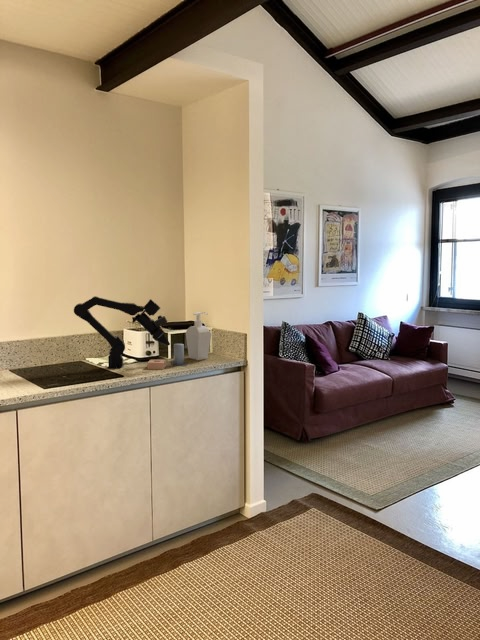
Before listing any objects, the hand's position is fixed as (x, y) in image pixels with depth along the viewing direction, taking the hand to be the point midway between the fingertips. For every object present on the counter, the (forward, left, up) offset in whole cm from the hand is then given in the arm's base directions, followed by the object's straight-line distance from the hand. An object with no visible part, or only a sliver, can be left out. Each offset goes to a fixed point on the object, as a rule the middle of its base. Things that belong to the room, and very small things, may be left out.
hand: (168, 343), depth 269 cm
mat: (+5, +1, -12) cm, 13 cm away
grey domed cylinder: (+5, +1, -11) cm, 12 cm away
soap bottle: (+14, +19, -12) cm, 27 cm away
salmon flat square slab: (-5, -7, -12) cm, 14 cm away
